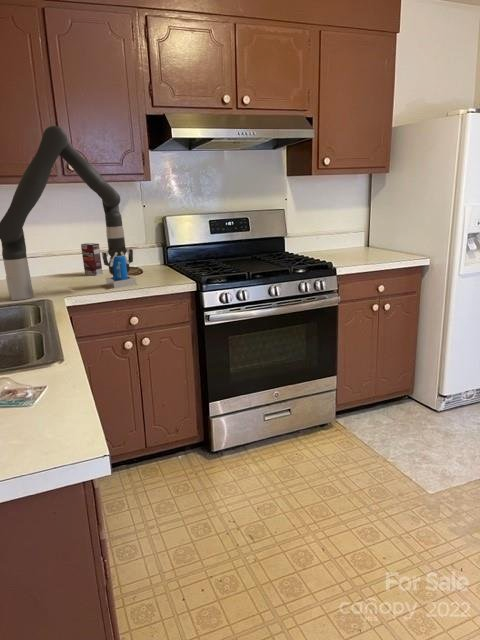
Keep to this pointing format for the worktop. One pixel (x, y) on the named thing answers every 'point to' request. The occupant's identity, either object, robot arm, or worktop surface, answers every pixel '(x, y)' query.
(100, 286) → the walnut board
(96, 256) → the supplement box
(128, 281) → the metal collar
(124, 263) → the beverage can
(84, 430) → the worktop surface
